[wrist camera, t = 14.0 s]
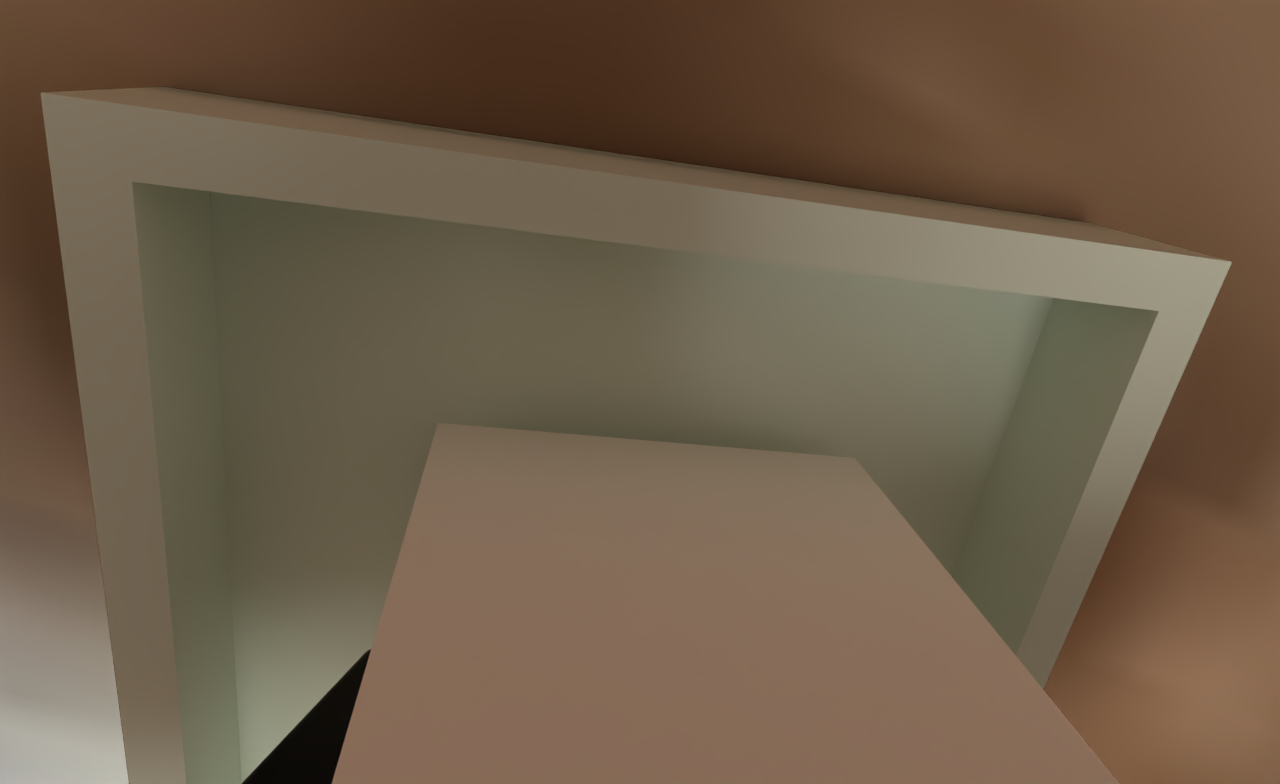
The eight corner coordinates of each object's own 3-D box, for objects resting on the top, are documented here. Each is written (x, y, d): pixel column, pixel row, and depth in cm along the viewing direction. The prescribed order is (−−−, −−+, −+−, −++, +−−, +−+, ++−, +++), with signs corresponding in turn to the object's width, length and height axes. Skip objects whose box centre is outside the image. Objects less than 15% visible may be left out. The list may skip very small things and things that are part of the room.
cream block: (855, 457, 9) (1161, 836, 5) (769, 760, 11) (930, 1246, 7) (438, 423, 9) (315, 839, 4) (418, 755, 10) (319, 1307, 6)
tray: (1090, 222, 10) (1231, 261, 8) (869, 827, 14) (925, 954, 12) (164, 86, 8) (40, 93, 6) (218, 833, 12) (154, 987, 10)
